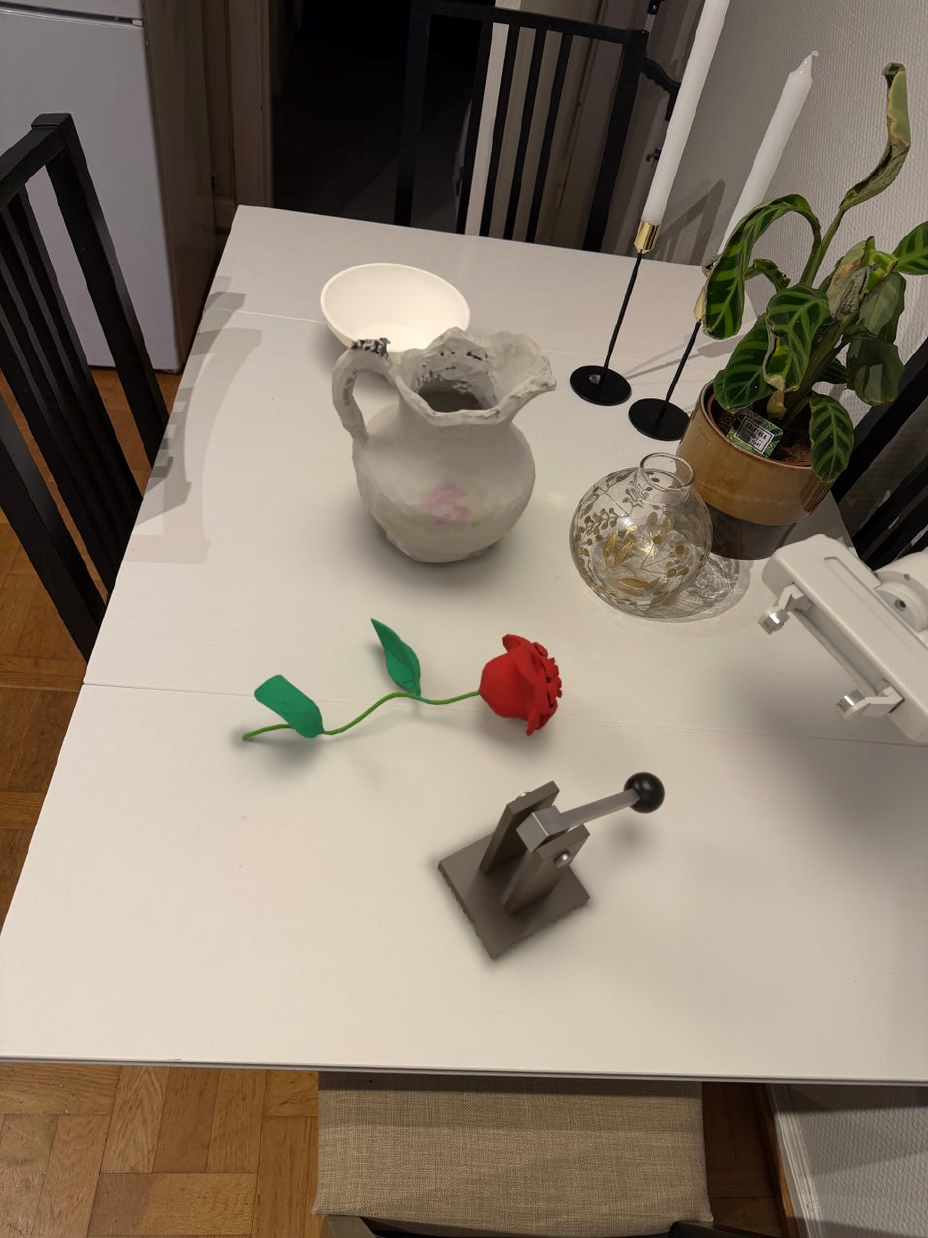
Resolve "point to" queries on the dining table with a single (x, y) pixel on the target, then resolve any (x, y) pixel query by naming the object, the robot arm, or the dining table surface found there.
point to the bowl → (392, 306)
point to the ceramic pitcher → (445, 439)
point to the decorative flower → (507, 686)
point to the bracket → (516, 876)
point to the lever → (592, 810)
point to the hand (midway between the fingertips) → (803, 665)
